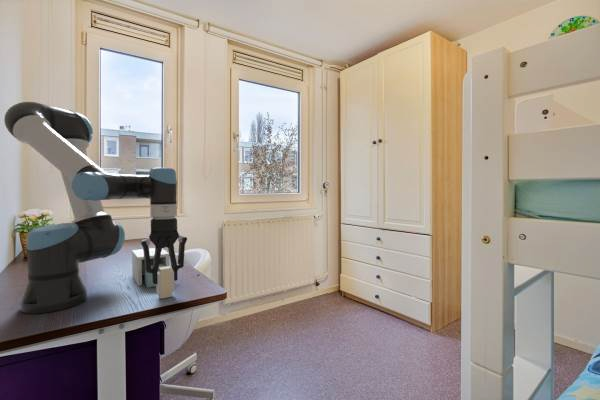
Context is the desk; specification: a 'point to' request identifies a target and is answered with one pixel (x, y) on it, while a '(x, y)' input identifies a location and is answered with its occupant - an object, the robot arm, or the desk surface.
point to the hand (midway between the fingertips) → (165, 292)
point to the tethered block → (165, 280)
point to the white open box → (139, 262)
